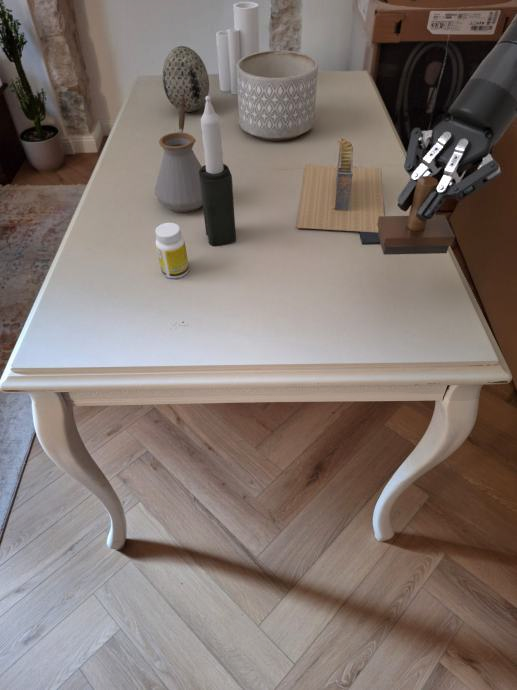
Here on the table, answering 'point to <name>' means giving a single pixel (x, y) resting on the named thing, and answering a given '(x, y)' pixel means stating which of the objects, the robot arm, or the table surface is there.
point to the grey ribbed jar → (179, 170)
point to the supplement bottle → (171, 250)
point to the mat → (369, 237)
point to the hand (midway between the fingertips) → (410, 213)
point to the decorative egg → (185, 78)
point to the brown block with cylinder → (416, 227)
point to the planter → (276, 93)
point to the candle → (216, 183)
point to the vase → (237, 44)
